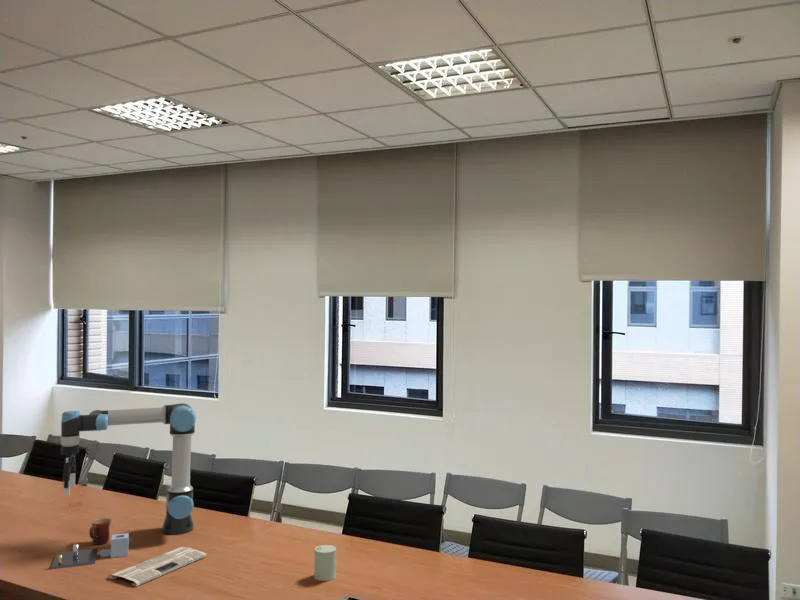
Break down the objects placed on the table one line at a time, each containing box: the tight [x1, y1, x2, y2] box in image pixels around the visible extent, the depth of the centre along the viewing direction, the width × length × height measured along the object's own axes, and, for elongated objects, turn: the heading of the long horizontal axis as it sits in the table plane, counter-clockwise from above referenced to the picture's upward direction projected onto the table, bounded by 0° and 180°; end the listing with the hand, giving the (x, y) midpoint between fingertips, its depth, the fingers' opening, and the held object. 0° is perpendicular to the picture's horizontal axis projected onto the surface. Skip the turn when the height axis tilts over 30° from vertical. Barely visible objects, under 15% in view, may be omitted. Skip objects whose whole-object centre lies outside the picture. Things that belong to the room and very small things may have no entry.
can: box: [313, 544, 337, 582], centre depth 261 cm, size 9×9×12 cm
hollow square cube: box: [99, 532, 130, 559], centre depth 284 cm, size 12×7×8 cm, turn 112°
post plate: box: [50, 543, 99, 570], centre depth 278 cm, size 17×17×6 cm
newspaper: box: [108, 546, 207, 588], centre depth 270 cm, size 37×19×3 cm, turn 151°
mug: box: [88, 517, 112, 546], centre depth 298 cm, size 12×9×10 cm
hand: (69, 491), depth 288 cm, fingers open, 13 cm apart
